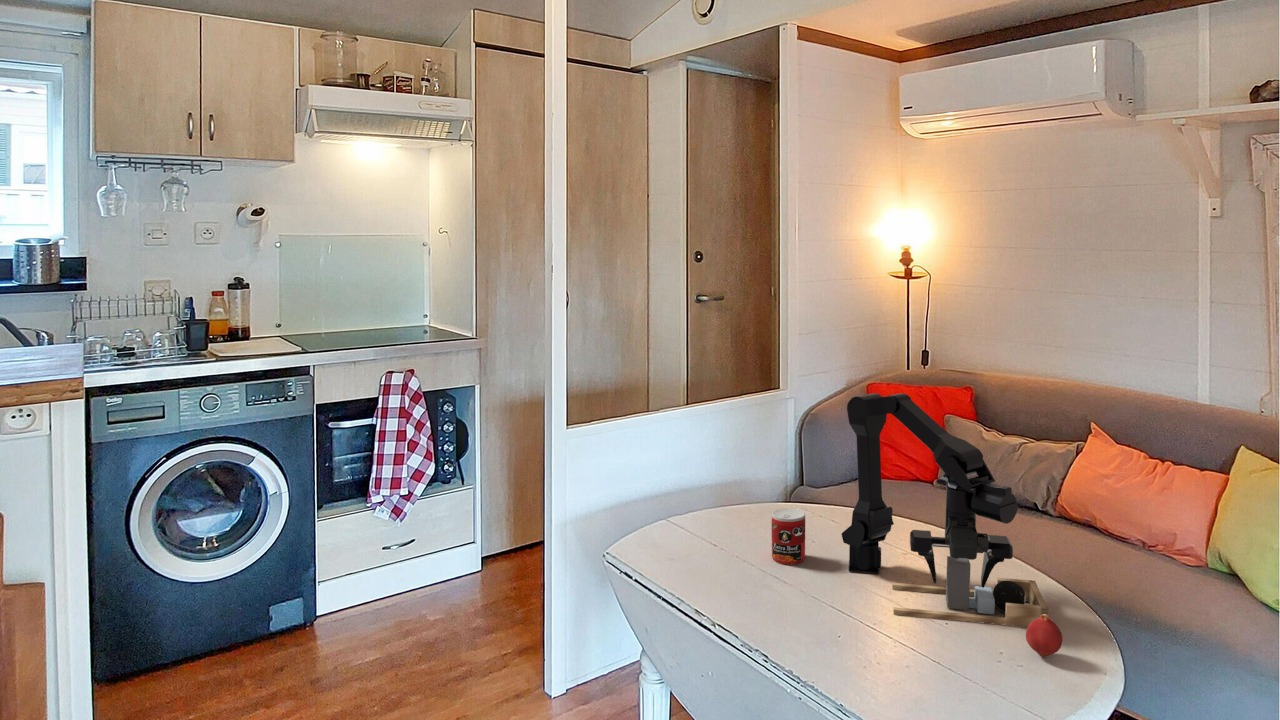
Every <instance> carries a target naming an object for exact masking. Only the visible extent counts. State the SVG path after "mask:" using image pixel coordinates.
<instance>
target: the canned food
mask: <svg viewBox="0 0 1280 720" xmlns="http://www.w3.org/2000/svg"><path fill="white" fill-rule="evenodd" d="M771 557H772V561H774V562H775V561H776V563H778V564H780V563H781V565H787V564H788V565H789V566H790V565H791V564H793V565H797V564H801V563H802V562H804V560H805V558H806V513H805V512H804V511H803V510H801V509H797V508H789V507H788V508H784V507H783V508H778V509H775V510H773V511H772V513H771ZM791 566H792V565H791Z"/></svg>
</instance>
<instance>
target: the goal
mask: <svg viewBox="0 0 1280 720" xmlns="http://www.w3.org/2000/svg"><path fill="white" fill-rule="evenodd" d="M1001 581H1013V582H1016V583H1017V584H1019V585H1020V586H1021V587H1022V588H1023V590H1024V592H1025V596H1026V600H1025V602H1029V604H1015V603H1006V610H1005V611H1004V612H1005V614H1004V615H1005V616H1004V617H1005V618H1006V625H1005V626H1009V625H1013V627H1019V626H1024V627H1023V628H1028V626H1029V624H1030V623H1031V622H1032V621H1033V620H1035V619H1037V618H1040V617H1041V615H1042V614H1046V615H1048V616H1049V608H1048V605H1047V604H1046V601H1045V599H1044V596H1043V595H1042V593H1041V591H1040V588H1039V587H1038V584H1037V582H1036V580H1031V579H1030V580H1029V579H1028V580H1027V579H1017V578H1005V577H996V584H997V583H999V582H1001Z"/></svg>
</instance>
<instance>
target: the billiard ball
mask: <svg viewBox="0 0 1280 720" xmlns="http://www.w3.org/2000/svg"><path fill="white" fill-rule="evenodd" d="M992 591H993V596H994V599H995V605H994V606H996V607H997V608H998V609H999V610H1001V611H1002V612H1005V610H1006V603H1015V604H1025V603H1026V601H1025V600H1026V596H1025V592H1024V590H1023V588H1022V587H1021V586H1020V585H1019V584H1017V583H1016V582H1013V581H1001V582H999V583H997V582H996V584H995V585H994V587H993V589H992Z"/></svg>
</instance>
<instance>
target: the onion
mask: <svg viewBox="0 0 1280 720" xmlns="http://www.w3.org/2000/svg"><path fill="white" fill-rule="evenodd" d="M1026 628H1027V629H1026V632H1025V639H1026V641H1027V644H1028V645H1029V647H1030V648H1031V649H1032V650H1033V651H1034V652H1036V653H1037V654H1038V656H1039V657H1041V658H1048V657H1050V656H1052V655H1054V654H1056V653H1057V652H1059V650H1060V649H1061V647H1062V645H1063V639H1064V638H1063V633H1062V631H1061V628H1060V627H1059V625H1057V624H1056V622H1055V621H1054V620H1052V619H1051V618H1050V617H1049V614H1048V615H1046V614H1042V615H1041V617H1040V618H1037V619H1035V620H1033V621H1032V622H1031V623H1030V624H1029V626H1028V627H1026Z"/></svg>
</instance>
